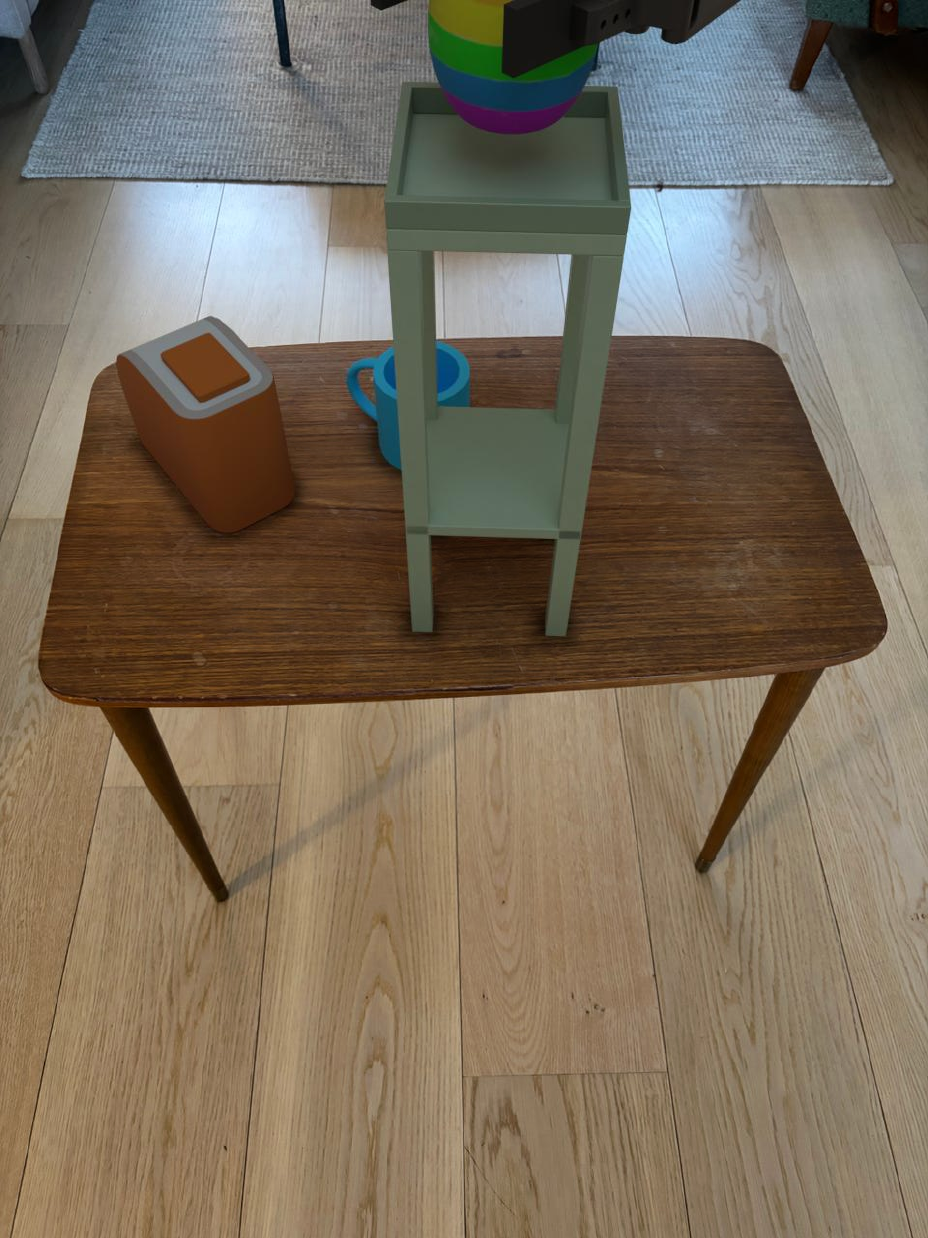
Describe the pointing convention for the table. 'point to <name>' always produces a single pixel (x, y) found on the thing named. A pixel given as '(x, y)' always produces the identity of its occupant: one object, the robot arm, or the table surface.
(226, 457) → the alarm clock
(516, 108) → the decorative egg
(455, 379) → the mug
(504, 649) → the table surface
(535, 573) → the table surface
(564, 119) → the stand
